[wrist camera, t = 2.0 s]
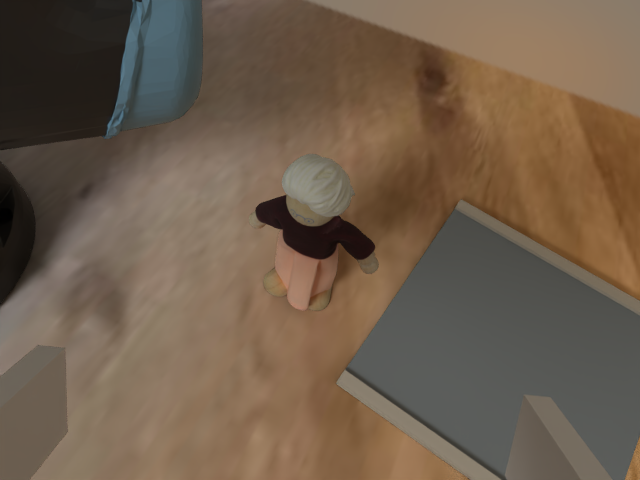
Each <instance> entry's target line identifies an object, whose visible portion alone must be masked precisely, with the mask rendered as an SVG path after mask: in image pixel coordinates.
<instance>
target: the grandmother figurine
mask: <svg viewBox="0 0 640 480" xmlns="http://www.w3.org/2000/svg"><path fill="white" fill-rule="evenodd" d="M282 186H283V188H284V191H285V192H286V193H287V195H285V196H281V197H278V198H275V199H272V200H269V201H266V202H263V203H260V204H259V205H258V206H257V207H256V210H255V211H254V212H253V213H252V214H251V215H250V216H249V223H250V225H251V226H252V227H254V228H256V229H259V228H262V227H264V226H265V225H266V224H268V225H270V226H273V227H275V228H277V229H281V230H280V232H279V235H278V241H277V252H276V258H275V268H274V269H272V270H271V271H270V272H269V273H268V274H267V275H266V276H265V278H264V287H265V289H266V290H267V291H268V292H269V293H270V294H272V295H274V296H277V297H281V296H285V295H287V298H288V301H289V303H290V304H291V305H292V306H293V307H294V308H296V309H299V310H307V309H310V310H314V311H319V310H322V309H324V308H325V307H326V306H327V305H328V303H329V300H330V295H331V289H332V283H333V281H334V278H335V276H336V273H337V265H338V243H341V245H342V246H343V247H344V248H345V250H346V251H347V252H348V253H349V254H351V255H352V256H353V257H354V258H355V259H357V261H358V262H359V263H360V267H361V269H362V271H363V272H364V273H367V274H371V273H374V272H375V271H376V270H377V269H378V265H379V264H378V261H377V259H376V258H375V253H374V249H375V245H374V243H373V242H372V241H371V240H370V239H369V238H367V237H366V236H365V235H364V234H363V233H362V232H361V231H360V230H359V229H358V228H356V227H355V226H354V225H352V224H350V223H349V222H347V221H344V220H343V219H341V217H340V216H339V215H340V214H342V213H343V212H344V211H345V210H346V209H347V208H348V206H349V204H350V201H351V197H352V196H353V195H355V193H354V190H353V188H352V186H351V185H350V180H349V177H348V175H347V174H346V172H345V171H344V170H343V169H342V167H341V166H340V165H339V164H337V163H335V161H333V160H332V159H329V158H324V157H321V156H319V155H316V154H307V155H304V156H302V157H300V158H298V159H297V160H296V161H294V162H293V163H292V164H291V165H290V166H289V167H288V168H287V170H286V171H285V173H284V176H283V179H282Z"/></svg>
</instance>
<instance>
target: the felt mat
mask: <svg viewBox="0 0 640 480" xmlns="http://www.w3.org/2000/svg"><path fill="white" fill-rule="evenodd" d="M336 384H337V385H339V386H340V387H341V388H343V389H344V390H346V391H347V392H348V393H350V394H351V395H353V396H354V397H355V398H357V399H358V400H360V401H361V402H362V403H364V404H365V405H367V406H368V407H369V408H371V409H372V410H374V411H375V412H376V413H378V414H379V415H381V416H382V417H383V418H385V419H386V420H388V421H389V422H390V423H392V424H393V425H395V426H396V427H397V428H399V429H400V430H402V431H403V432H404V433H406V434H407V435H409V436H410V437H411V438H413V439H414V440H416V441H417V442H418V443H420V444H421V445H423V446H424V447H425V448H427V449H428V450H430V451H431V452H432V453H434V454H435V455H437V456H438V457H439V458H441V459H442V460H444V461H445V462H446V463H448V464H449V465H451V466H452V467H453V468H455V469H456V470H458V471H459V472H460V473H462V474H463V475H465V476H466V477H468V478H469V479H470V480H507V479H506V477H505V473H506V468H507V464H508V460H509V456H510V451H511V447H512V443H513V439H514V435H515V430H516V426H517V422H518V418H519V413H520V409H521V405H522V401H523V396H524V395H534V396H544V397H551V399H552V400H553V401H554V403H555V404H556V405H557V407H558V408H559V409H560V411H561V412H562V413H563V415H564V416H565V417H566V419H567V420H568V421H569V423H570V424H571V425H572V426H573V428H574V429H575V430H576V432H577V433H578V434H579V436H580V437H581V438H582V440H583V441H584V442H585V444H586V445H587V446H588V448H589V449H590V450H591V452H592V453H593V454H594V456H595V457H596V458H597V460H598V461H599V462H600V464H601V465H602V466H603V468H604V469H605V470H606V472H607V473H608V474H609V476H610V477H611V478H612V480H625V477H626V474H627V471H628V468H629V465H630V462H631V459H632V456H633V453H634V451H635V448H636V445H637V442H638V439H639V436H640V301H639V300H637V299H636V298H634V297H632V296H630V295H629V294H627V293H625V292H623V291H621V290H620V289H618V288H616V287H614V286H613V285H611V284H609V283H607V282H606V281H604V280H602V279H600V278H599V277H597V276H595V275H593V274H592V273H590V272H588V271H586V270H585V269H583V268H581V267H579V266H578V265H576V264H574V263H572V262H571V261H569V260H567V259H565V258H563V257H562V256H560V255H558V254H556V253H555V252H553V251H551V250H549V249H548V248H546V247H544V246H542V245H541V244H539V243H537V242H535V241H534V240H532V239H530V238H528V237H527V236H525V235H523V234H521V233H520V232H518V231H516V230H514V229H513V228H511V227H509V226H507V225H506V224H504V223H502V222H500V221H498V220H497V219H495V218H493V217H491V216H490V215H488V214H486V213H484V212H483V211H481V210H479V209H477V208H476V207H474V206H472V205H470V204H469V203H467V202H465V201H463V200H462V199H461V200H460V201H459V203H458V204H457V206H456V207H455V209H454V211H453V212H452V213H451V215H450V216H449V218H448V219H447V221H446V222H445V224H444V225H443V227H442V228H441V230H440V231H439V233H438V234H437V236H436V237H435V239H434V240H433V241H432V243H431V244H430V246H429V247H428V249H427V250H426V252H425V253H424V255H423V256H422V258H421V259H420V261H419V262H418V264H417V265H416V266H415V268H414V269H413V271H412V272H411V274H410V275H409V277H408V278H407V280H406V281H405V283H404V284H403V286H402V287H401V289H400V290H399V291H398V293H397V294H396V296H395V297H394V299H393V300H392V302H391V303H390V305H389V306H388V308H387V309H386V311H385V312H384V314H383V315H382V316H381V318H380V319H379V321H378V322H377V324H376V325H375V327H374V328H373V330H372V331H371V333H370V334H369V336H368V337H367V339H366V340H365V341H364V343H363V344H362V346H361V347H360V349H359V350H358V352H357V353H356V355H355V356H354V358H353V359H352V361H351V362H350V364H349V365H348V366H347V368H346V369H345V370H344V372H343V373H342V375H341V376H340V378H339V379H338V381H337V383H336Z"/></svg>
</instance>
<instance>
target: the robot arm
mask: <svg viewBox="0 0 640 480" xmlns="http://www.w3.org/2000/svg"><path fill="white" fill-rule="evenodd" d="M202 64H203V28H202V0H0V150H5V149H12V148H19V147H26V146H33V145H40V144H47V143H55V142H62V141H69V140H76V139H83V138H90V137H97V136H102V137H104V138H105V139H108V138H111V137H113V136H117V135H118V134H119V133H120V132H121V131H125V130H131V129H136V128H141V127H146V126H151V125H157V124H162V123H167V122H171V121H174V120H176V119H178V118H180V117H181V116H183V115H184V114H185V113H186V112H187V111H188V110H189V109H190V108H191V107H192V105H193V104H194V102H195V100H196V99H197V97H198V94H199V91H200V86H201V80H202ZM34 237H35V217H34V211H33V208H32V205H31V202H30V200H29V198H28V196H27V194H26V192H25V191H24V189H23V188H22V186H21V185H20V184H19V183H18V181H17V180H16V179H15V177H14V176H13V175H12V174H11V172H10V171H9V170H8V169H7V168H6V166H5V165H3V164H2V163H1V162H0V303H1V302H2V301H3V300H4V298H5V297H6V296H7V295H8V294H9V292H10V291H11V290H12V288H13V287H14V286H15V284H16V283H17V281H18V279H19V278H20V276H21V274H22V273H23V271H24V269H25V267H26V264H27V262H28V260H29V257H30V254H31V251H32V248H33V243H34ZM67 432H68V425H67V392H66V360H65V348H61V347H51V346H41V345H38V346H36V347H35V348H34V349H33V350H32V351H30V352H29V353H28V354H27V355H26V356H24V357H23V358H22V359H21V360H20V361H18V362H17V363H16V364H15V365H14V366H13V367H11V368H10V369H9V370H8V371H7V372H5V373H4V374H3V375H2V376H1V377H0V480H30V479H31V477H32V476H33V475H34V474H35V472H36V471H37V470H38V469H39V467H40V466H41V465H42V464H43V462H44V461H45V460H46V458H47V457H48V456H49V455H50V453H51V452H52V451H53V450H54V448H55V447H56V446H57V445H58V443H59V442H60V441H61V440H62V438H63V437H64V436H65V435H66V433H67ZM505 477H506V479H507V480H612V478H611V477H610V476H609V474H608V473H607V472H606V470H605V469H604V468H603V466H602V465H601V464H600V462H599V461H598V460H597V458H596V457H595V456H594V454H593V453H592V452H591V450H590V449H589V448H588V446H587V445H586V444H585V442H584V441H583V440H582V438H581V437H580V436H579V434H578V433H577V432H576V430H575V429H574V428H573V426H572V425H571V424H570V423H569V421H568V420H567V419H566V417H565V416H564V415H563V413H562V412H561V411H560V409H559V408H558V407H557V405H556V404H555V403H554V401H553V400H552V399H551V397H544V396H534V395H524V396H523V401H522V405H521V409H520V413H519V418H518V422H517V426H516V430H515V435H514V439H513V443H512V447H511V451H510V456H509V460H508V464H507V468H506V473H505Z"/></svg>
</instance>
